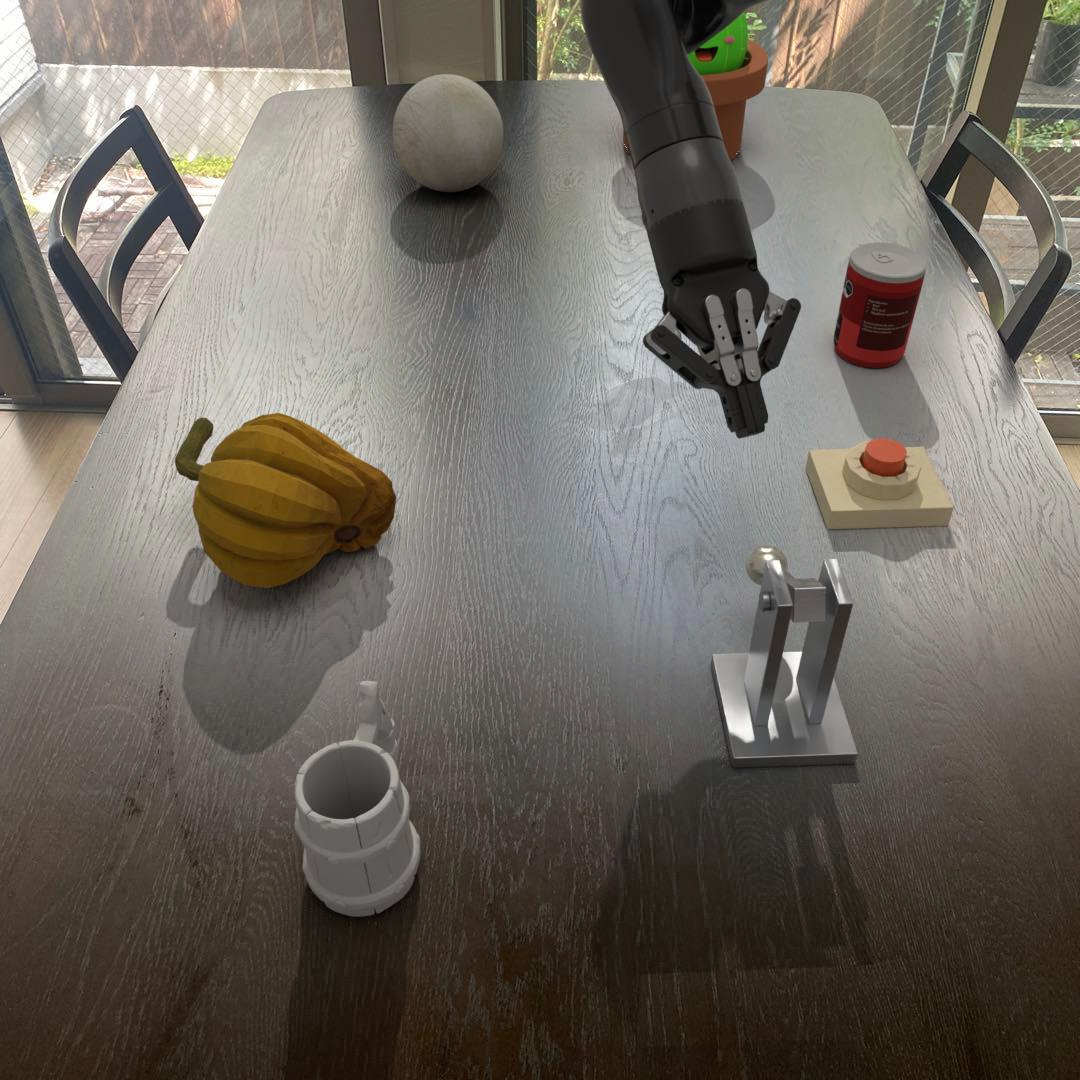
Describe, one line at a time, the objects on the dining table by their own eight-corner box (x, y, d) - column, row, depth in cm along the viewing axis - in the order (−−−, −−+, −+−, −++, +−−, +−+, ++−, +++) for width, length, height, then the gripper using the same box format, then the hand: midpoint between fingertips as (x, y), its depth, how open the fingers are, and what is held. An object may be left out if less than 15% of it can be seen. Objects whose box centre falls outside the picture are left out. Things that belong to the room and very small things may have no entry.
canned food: (859, 324, 124) (879, 234, 116) (918, 352, 119) (943, 261, 112) (816, 347, 120) (834, 256, 113) (876, 378, 115) (898, 285, 108)
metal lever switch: (710, 664, 85) (729, 534, 76) (823, 660, 86) (856, 530, 76) (731, 768, 78) (756, 638, 69) (855, 764, 78) (896, 633, 69)
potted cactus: (593, 125, 168) (598, -53, 151) (728, 115, 171) (748, -62, 154) (627, 184, 152) (636, -8, 135) (776, 171, 155) (803, -18, 138)
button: (896, 452, 100) (900, 437, 99) (907, 477, 97) (912, 461, 96) (857, 453, 100) (861, 438, 98) (868, 478, 97) (871, 462, 96)
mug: (291, 914, 70) (258, 806, 62) (343, 765, 79) (319, 654, 71) (406, 930, 69) (387, 823, 61) (446, 777, 78) (433, 666, 70)
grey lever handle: (741, 581, 86) (742, 542, 86) (781, 580, 87) (782, 541, 86) (786, 629, 73) (786, 582, 72) (833, 627, 73) (834, 581, 72)
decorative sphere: (467, 219, 144) (461, 106, 134) (376, 196, 150) (364, 85, 140) (524, 178, 154) (523, 69, 144) (437, 157, 159) (429, 51, 149)
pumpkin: (342, 651, 89) (108, 572, 88) (391, 541, 103) (187, 471, 101) (379, 524, 81) (122, 435, 80) (426, 422, 95) (206, 344, 93)
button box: (918, 464, 104) (928, 431, 102) (948, 525, 98) (959, 491, 95) (805, 467, 104) (812, 434, 101) (827, 529, 97) (835, 495, 95)
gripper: (629, 210, 77) (691, 445, 77) (793, 182, 80) (852, 407, 80) (599, 247, 84) (655, 461, 84) (749, 219, 88) (804, 426, 87)
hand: (751, 434), depth 82 cm, fingers closed
